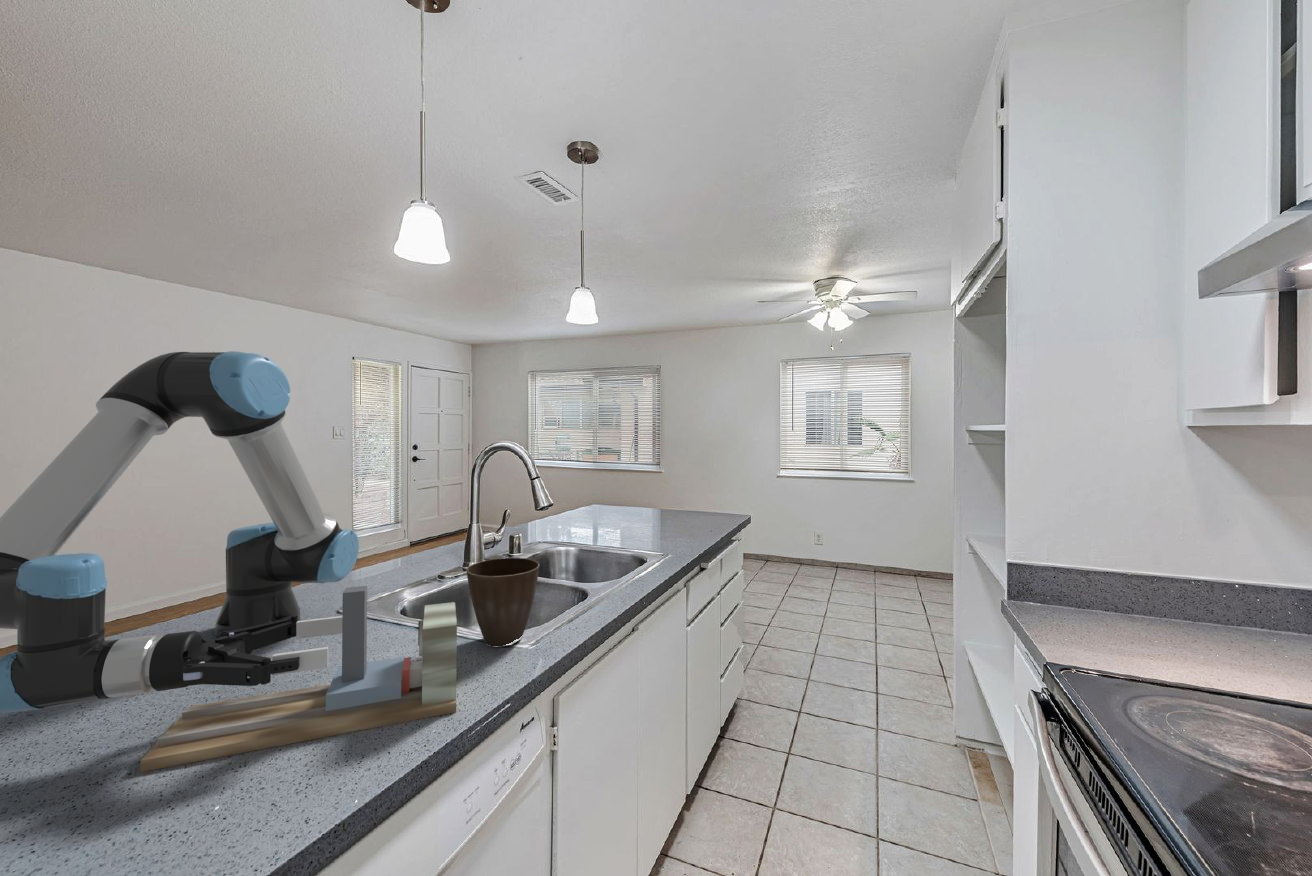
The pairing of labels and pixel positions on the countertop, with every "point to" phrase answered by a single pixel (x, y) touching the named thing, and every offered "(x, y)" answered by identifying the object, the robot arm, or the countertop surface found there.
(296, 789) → the countertop surface
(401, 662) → the carriage
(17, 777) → the countertop surface
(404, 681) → the button
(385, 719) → the rail track
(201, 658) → the robot arm
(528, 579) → the plant pot
